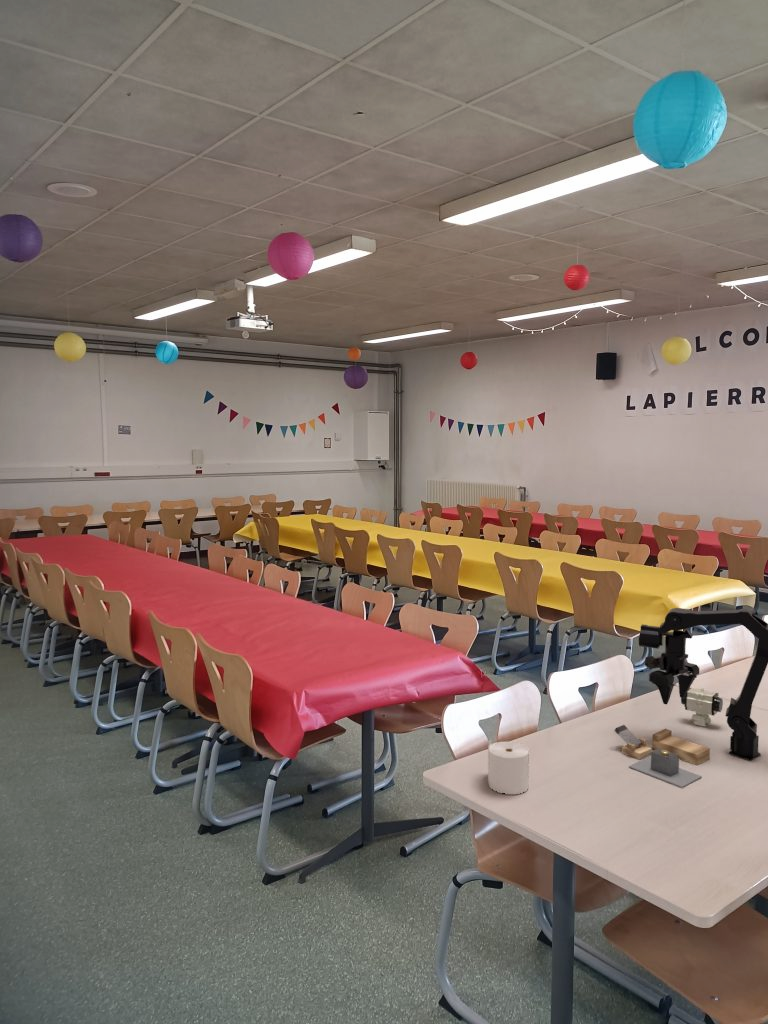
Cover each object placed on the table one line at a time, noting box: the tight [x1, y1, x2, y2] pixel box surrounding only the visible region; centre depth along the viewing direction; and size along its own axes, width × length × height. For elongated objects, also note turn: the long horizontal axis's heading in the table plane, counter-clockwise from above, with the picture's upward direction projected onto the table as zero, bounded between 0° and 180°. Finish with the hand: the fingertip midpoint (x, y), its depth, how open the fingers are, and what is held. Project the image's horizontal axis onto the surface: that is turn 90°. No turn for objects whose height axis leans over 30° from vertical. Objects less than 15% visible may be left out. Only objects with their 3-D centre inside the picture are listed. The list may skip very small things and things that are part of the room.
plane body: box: [651, 728, 711, 766], centre depth 211 cm, size 14×7×5 cm, turn 38°
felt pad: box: [628, 756, 703, 789], centre depth 199 cm, size 16×10×1 cm, turn 38°
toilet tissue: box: [487, 738, 530, 795], centre depth 192 cm, size 11×12×10 cm
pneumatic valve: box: [680, 687, 724, 728], centre depth 233 cm, size 6×12×12 cm, turn 51°
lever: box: [614, 724, 642, 748], centre depth 213 cm, size 1×4×8 cm
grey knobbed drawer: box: [650, 748, 680, 777], centre depth 199 cm, size 6×4×6 cm, turn 38°
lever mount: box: [621, 737, 653, 761], centre depth 211 cm, size 6×7×4 cm
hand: (673, 700), depth 219 cm, fingers open, 9 cm apart
